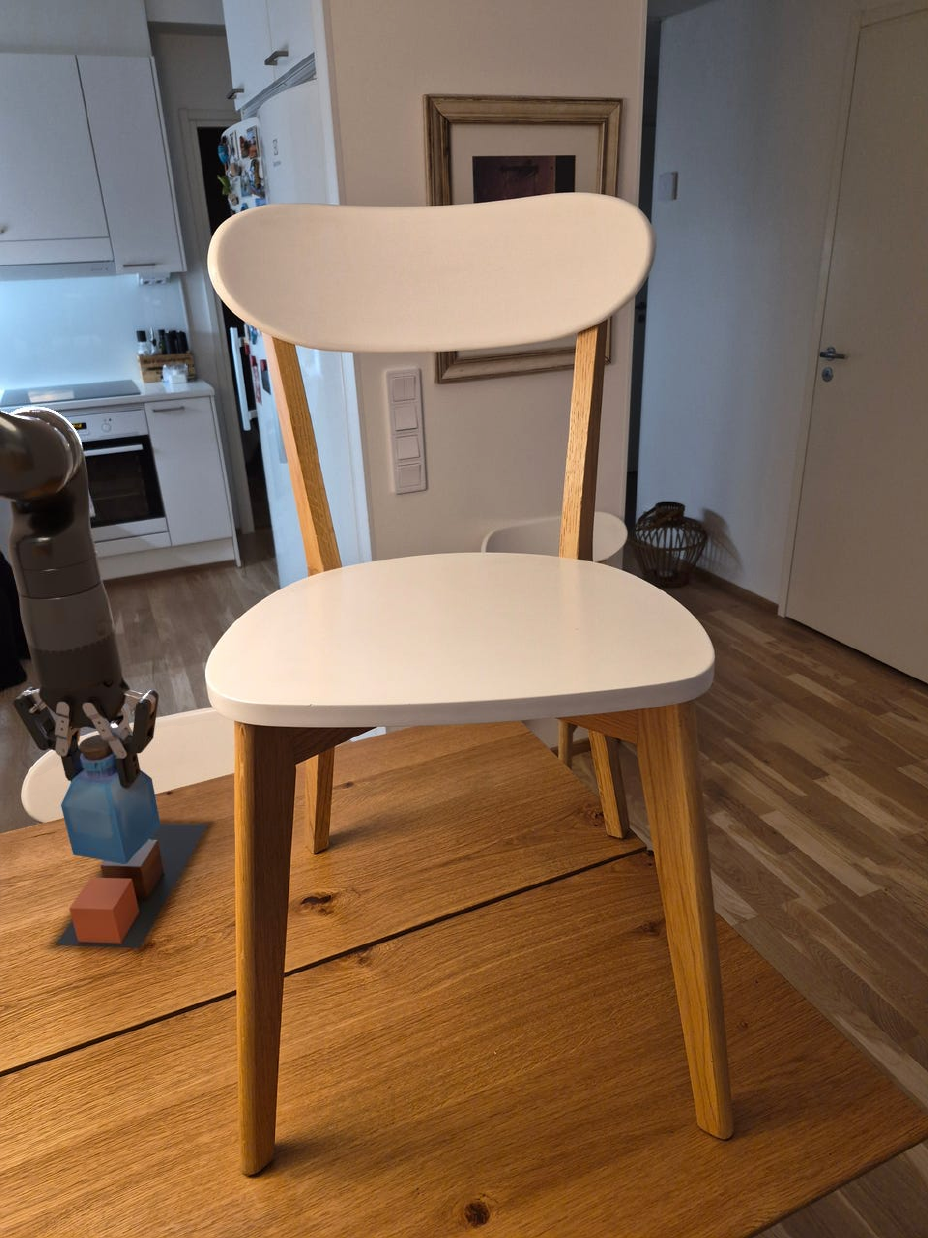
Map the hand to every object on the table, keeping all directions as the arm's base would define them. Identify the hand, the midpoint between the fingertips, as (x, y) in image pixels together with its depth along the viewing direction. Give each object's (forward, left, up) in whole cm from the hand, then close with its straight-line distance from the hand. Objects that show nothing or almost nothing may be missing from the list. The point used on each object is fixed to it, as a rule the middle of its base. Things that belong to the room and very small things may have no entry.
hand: (104, 782), depth 84 cm
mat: (-5, +11, -23) cm, 26 cm away
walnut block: (-5, +10, -22) cm, 25 cm away
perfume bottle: (0, 0, -8) cm, 8 cm away
